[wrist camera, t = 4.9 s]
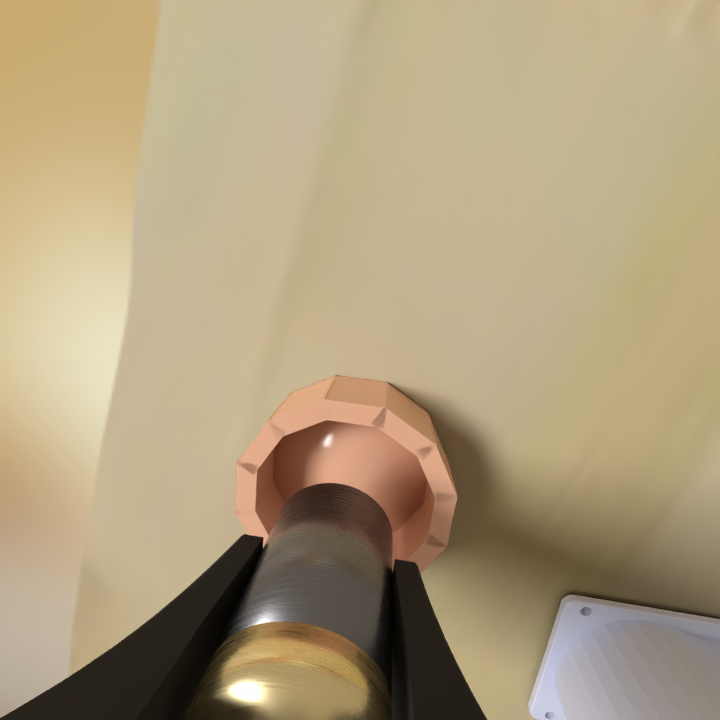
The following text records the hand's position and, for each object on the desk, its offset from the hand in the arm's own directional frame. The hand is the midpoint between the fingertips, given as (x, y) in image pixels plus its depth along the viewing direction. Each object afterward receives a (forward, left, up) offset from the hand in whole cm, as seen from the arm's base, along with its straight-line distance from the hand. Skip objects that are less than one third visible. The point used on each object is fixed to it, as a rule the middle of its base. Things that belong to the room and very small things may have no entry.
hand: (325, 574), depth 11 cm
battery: (0, 0, -2) cm, 2 cm away
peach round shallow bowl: (0, 0, -6) cm, 6 cm away
